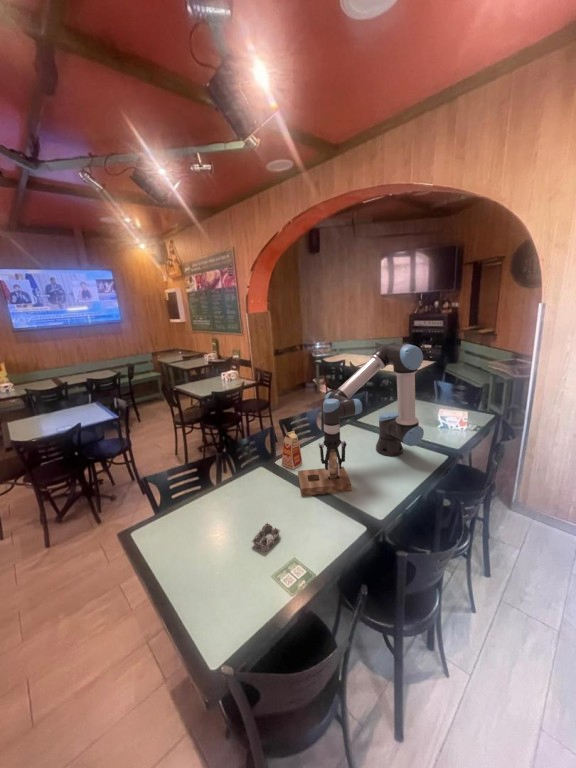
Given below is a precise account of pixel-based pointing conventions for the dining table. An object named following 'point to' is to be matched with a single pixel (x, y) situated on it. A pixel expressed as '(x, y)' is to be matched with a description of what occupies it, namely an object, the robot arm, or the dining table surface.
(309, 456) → the dining table surface
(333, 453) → the peg
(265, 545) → the egg carton
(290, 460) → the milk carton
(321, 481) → the board
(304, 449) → the dining table surface
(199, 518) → the dining table surface
